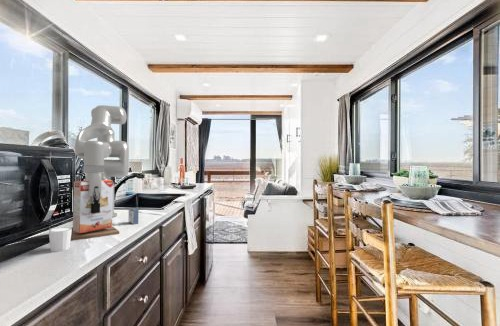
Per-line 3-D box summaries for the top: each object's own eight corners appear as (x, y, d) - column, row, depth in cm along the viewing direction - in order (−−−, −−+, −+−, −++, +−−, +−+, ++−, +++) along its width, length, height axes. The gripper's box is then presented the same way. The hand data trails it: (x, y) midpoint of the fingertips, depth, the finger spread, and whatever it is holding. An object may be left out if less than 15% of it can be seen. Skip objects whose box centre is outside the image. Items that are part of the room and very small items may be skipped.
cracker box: (79, 234, 111) (80, 181, 111) (72, 231, 114) (72, 181, 114) (113, 227, 123) (113, 180, 123) (105, 225, 126) (105, 179, 126)
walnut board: (66, 234, 117) (66, 232, 117) (112, 228, 129) (112, 226, 128) (70, 240, 109) (70, 238, 109) (119, 233, 120) (119, 231, 120)
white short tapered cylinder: (74, 249, 99) (74, 229, 99) (50, 253, 94) (51, 233, 94) (68, 244, 104) (68, 226, 103) (46, 249, 99) (46, 229, 98)
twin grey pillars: (78, 228, 128) (78, 213, 128) (134, 221, 144) (134, 208, 144) (80, 231, 123) (80, 215, 123) (138, 223, 139) (138, 209, 139)
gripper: (80, 169, 123) (80, 209, 123) (87, 170, 109) (87, 215, 110) (99, 169, 127) (99, 207, 128) (108, 170, 114) (108, 213, 114)
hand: (93, 211), depth 119 cm, fingers closed on cracker box, 7 cm apart
